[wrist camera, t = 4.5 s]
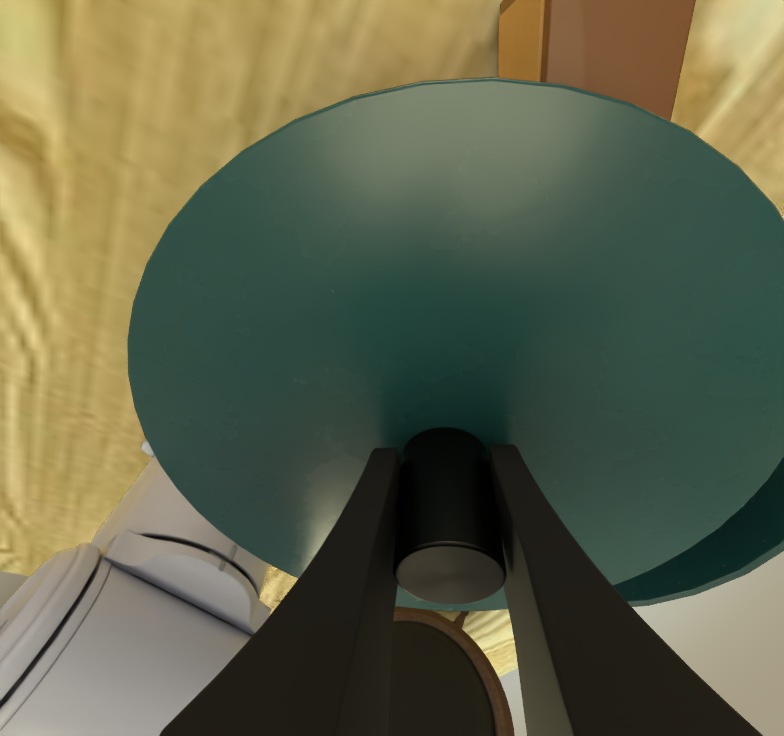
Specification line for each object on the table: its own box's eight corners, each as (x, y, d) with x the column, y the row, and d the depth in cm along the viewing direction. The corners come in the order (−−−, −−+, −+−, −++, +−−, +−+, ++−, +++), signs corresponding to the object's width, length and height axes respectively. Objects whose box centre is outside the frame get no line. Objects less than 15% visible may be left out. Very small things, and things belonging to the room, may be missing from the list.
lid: (454, 624, 19) (460, 753, 15) (79, 442, 14) (-48, 571, 10) (910, 415, 11) (1162, 586, 7) (403, -241, 6) (352, -903, 2)
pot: (564, 557, 30) (589, 637, 26) (382, 448, 25) (374, 525, 21) (812, 425, 22) (912, 508, 18) (621, 229, 17) (693, 275, 13)
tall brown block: (495, 220, 17) (529, 275, 12) (497, 3, 14) (549, -60, 8) (572, 211, 17) (644, 264, 12) (597, -14, 13) (721, -93, 8)
